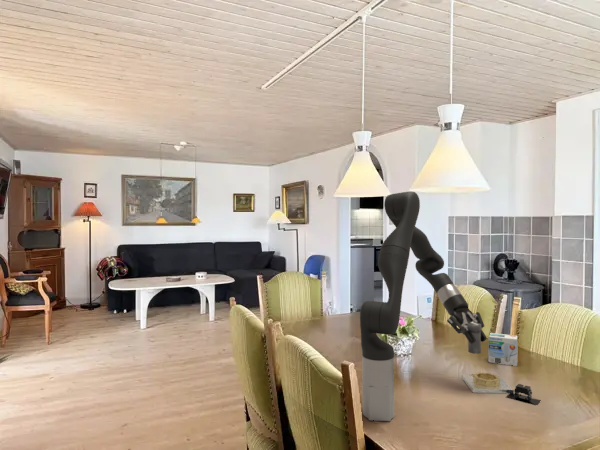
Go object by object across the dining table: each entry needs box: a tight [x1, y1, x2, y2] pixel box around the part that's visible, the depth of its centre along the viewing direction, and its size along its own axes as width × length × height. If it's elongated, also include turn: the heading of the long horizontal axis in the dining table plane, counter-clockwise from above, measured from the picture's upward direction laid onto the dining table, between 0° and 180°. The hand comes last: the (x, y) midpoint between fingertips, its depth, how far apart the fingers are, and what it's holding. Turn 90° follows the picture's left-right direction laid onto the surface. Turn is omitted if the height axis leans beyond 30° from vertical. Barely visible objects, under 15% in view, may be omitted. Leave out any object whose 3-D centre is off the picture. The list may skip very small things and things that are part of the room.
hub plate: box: [461, 371, 515, 395], centre depth 148 cm, size 13×13×4 cm
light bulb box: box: [487, 332, 519, 367], centre depth 174 cm, size 11×7×11 cm, turn 62°
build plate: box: [505, 383, 542, 406], centre depth 137 cm, size 12×7×5 cm, turn 45°
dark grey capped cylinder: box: [467, 322, 482, 355], centre depth 146 cm, size 4×4×10 cm
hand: (479, 341), depth 144 cm, fingers closed on dark grey capped cylinder, 4 cm apart
